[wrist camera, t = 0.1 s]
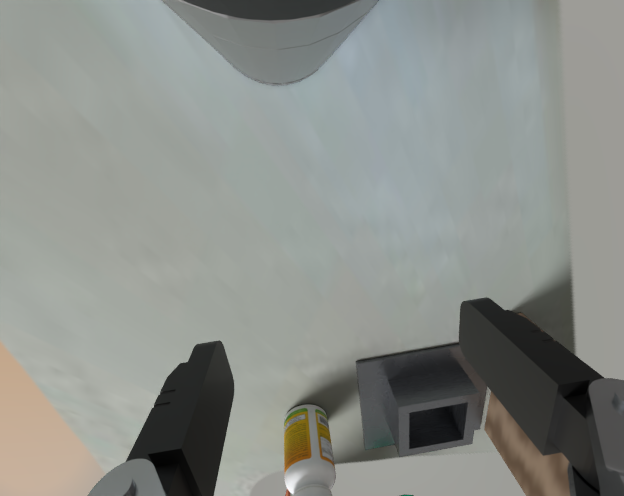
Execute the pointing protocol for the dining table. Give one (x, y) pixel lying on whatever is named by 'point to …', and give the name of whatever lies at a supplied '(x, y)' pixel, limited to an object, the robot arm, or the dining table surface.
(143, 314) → the dining table surface
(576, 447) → the robot arm
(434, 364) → the socket
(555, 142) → the dining table surface
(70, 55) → the dining table surface
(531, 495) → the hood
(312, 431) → the supplement bottle
